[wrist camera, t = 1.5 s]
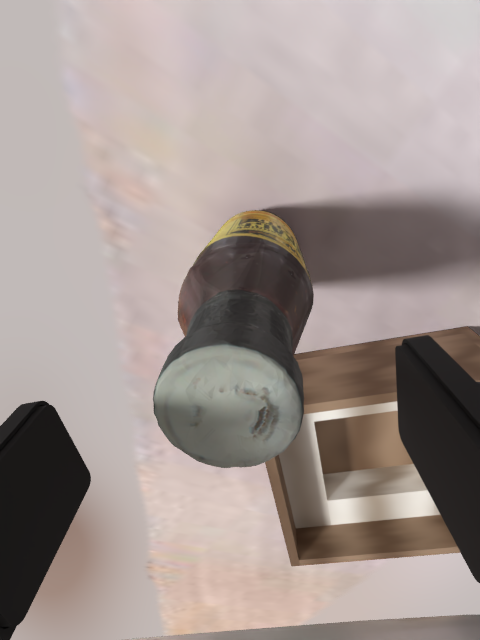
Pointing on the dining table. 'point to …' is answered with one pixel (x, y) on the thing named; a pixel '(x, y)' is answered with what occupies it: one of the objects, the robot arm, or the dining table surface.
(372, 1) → the dining table surface
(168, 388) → the sauce bottle
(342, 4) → the dining table surface
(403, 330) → the dining table surface
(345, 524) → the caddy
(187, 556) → the dining table surface
